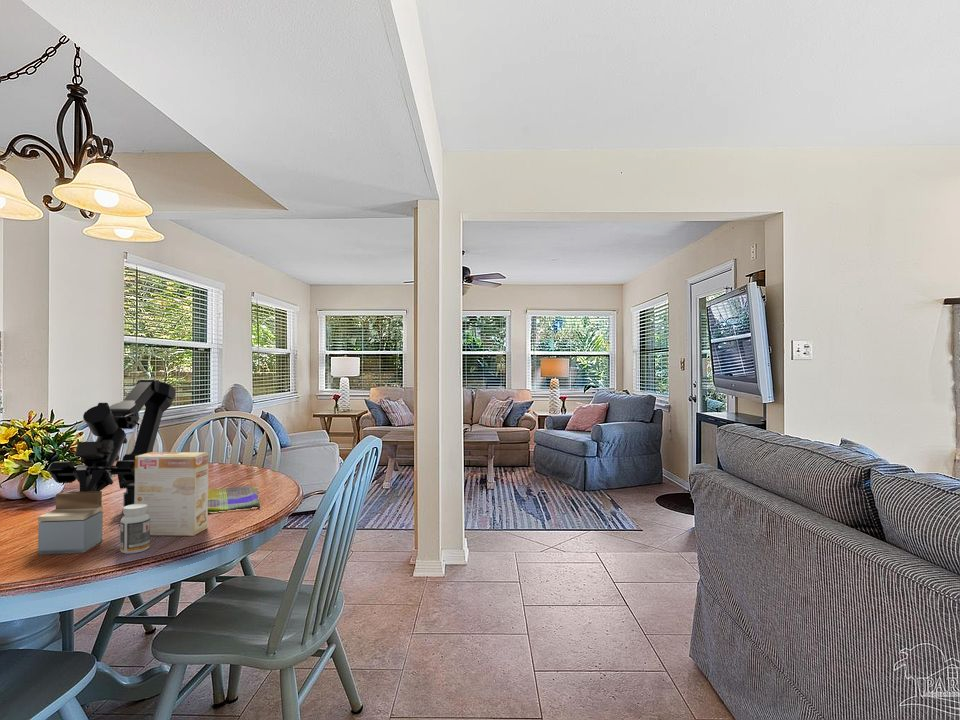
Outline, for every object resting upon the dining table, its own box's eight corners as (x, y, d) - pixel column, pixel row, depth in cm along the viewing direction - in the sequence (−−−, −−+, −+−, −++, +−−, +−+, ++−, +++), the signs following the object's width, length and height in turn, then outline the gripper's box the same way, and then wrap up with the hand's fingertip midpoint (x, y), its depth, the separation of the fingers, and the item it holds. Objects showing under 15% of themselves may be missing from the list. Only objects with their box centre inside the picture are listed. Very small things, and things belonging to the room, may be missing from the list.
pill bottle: (155, 545, 125) (155, 502, 125) (140, 554, 119) (141, 509, 120) (129, 545, 125) (130, 502, 125) (113, 554, 119) (114, 509, 119)
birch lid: (59, 511, 126) (60, 492, 127) (102, 510, 128) (102, 491, 128) (38, 521, 119) (38, 500, 119) (83, 519, 120) (84, 499, 120)
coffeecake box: (208, 527, 139) (209, 451, 139) (193, 536, 132) (195, 456, 132) (150, 527, 139) (151, 451, 139) (132, 536, 132) (133, 455, 132)
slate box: (59, 542, 127) (60, 512, 127) (102, 540, 128) (102, 511, 128) (37, 554, 119) (38, 522, 119) (83, 552, 120) (84, 520, 120)
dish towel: (192, 517, 150) (192, 507, 150) (198, 497, 172) (199, 488, 172) (260, 511, 157) (260, 501, 157) (258, 492, 179) (258, 484, 179)
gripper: (52, 428, 131) (21, 484, 120) (136, 427, 134) (114, 482, 123) (71, 455, 139) (43, 510, 128) (150, 454, 142) (129, 507, 131)
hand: (82, 502), depth 128 cm, fingers closed, pressing on birch lid
